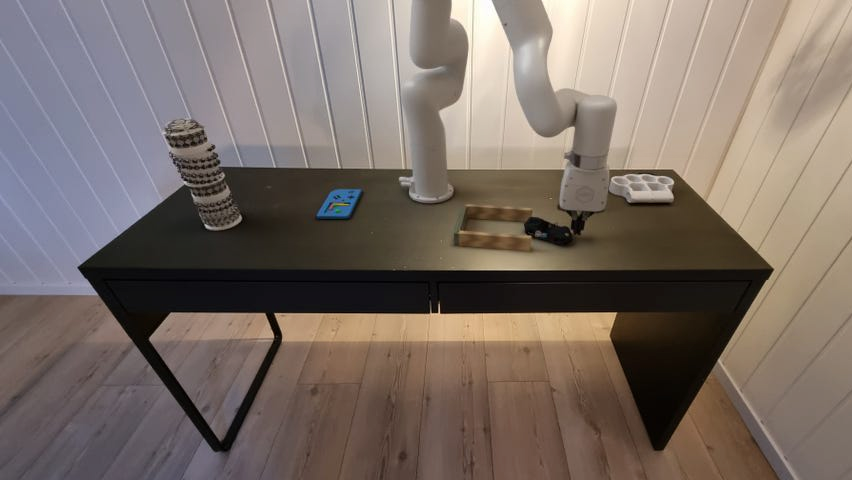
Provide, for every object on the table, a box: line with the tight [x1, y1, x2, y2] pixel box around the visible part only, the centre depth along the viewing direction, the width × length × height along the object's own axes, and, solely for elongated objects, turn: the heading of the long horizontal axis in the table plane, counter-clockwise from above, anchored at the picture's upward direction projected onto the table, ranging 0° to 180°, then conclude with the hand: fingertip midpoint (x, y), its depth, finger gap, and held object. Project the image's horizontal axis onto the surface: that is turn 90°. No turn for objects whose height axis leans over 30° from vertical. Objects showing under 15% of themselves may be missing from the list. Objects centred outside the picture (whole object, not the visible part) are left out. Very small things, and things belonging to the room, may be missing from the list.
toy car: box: [523, 216, 574, 246], centre depth 98 cm, size 8×12×4 cm
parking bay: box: [453, 203, 533, 252], centre depth 100 cm, size 18×14×4 cm
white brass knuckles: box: [608, 173, 675, 204], centre depth 116 cm, size 3×18×15 cm
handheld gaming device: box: [316, 188, 362, 220], centre depth 110 cm, size 8×1×15 cm
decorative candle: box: [161, 117, 243, 231], centre depth 96 cm, size 9×9×25 cm
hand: (576, 231), depth 98 cm, fingers closed
